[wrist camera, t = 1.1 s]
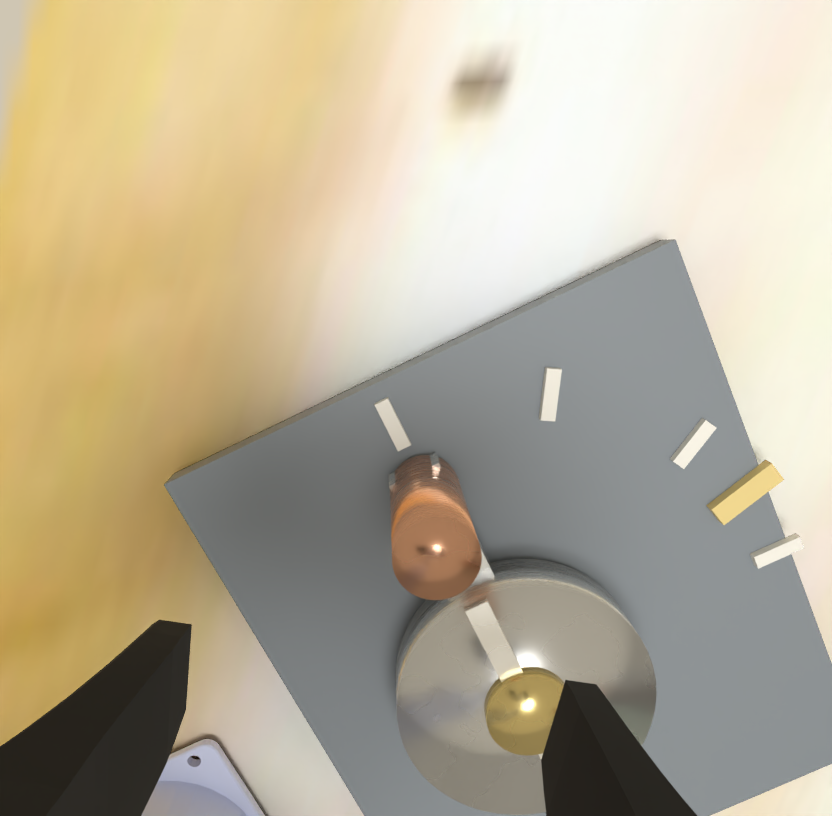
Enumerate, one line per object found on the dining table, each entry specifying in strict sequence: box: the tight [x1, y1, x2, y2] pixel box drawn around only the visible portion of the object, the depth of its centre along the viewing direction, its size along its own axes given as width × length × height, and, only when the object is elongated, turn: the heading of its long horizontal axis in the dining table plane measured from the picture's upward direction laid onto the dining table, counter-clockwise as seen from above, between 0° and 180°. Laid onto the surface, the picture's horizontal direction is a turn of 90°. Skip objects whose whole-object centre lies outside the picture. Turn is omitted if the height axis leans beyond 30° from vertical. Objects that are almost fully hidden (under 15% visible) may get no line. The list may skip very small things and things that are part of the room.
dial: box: [389, 452, 657, 815], centre depth 22 cm, size 14×9×6 cm, turn 25°
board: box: [164, 240, 832, 816], centre depth 26 cm, size 20×22×2 cm
